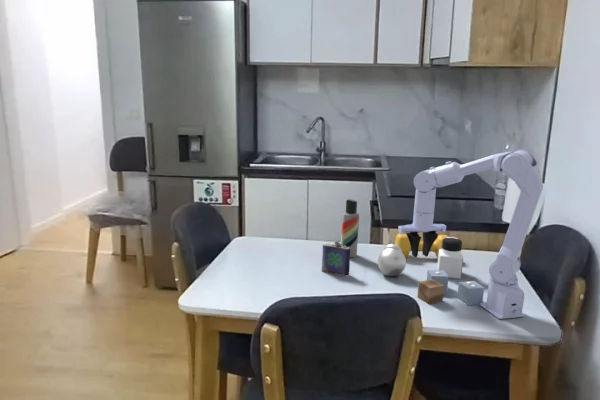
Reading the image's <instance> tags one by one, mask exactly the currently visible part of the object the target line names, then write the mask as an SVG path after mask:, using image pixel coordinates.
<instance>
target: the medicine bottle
mask: <svg viewBox="0 0 600 400" xmlns="http://www.w3.org/2000/svg"><path fill="white" fill-rule="evenodd" d="M462 247H463V241H462V240H461V239H460V238H457V237H453V236H448V237H447V238H444V239H443V240H442V249H439V255H438V257H437V267H436V270H444V271H445V272H446V274H447V275H448V279H455V280H457V279H459V280H461V279H462V273H463V264H464V256H463V252H462Z"/></svg>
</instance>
